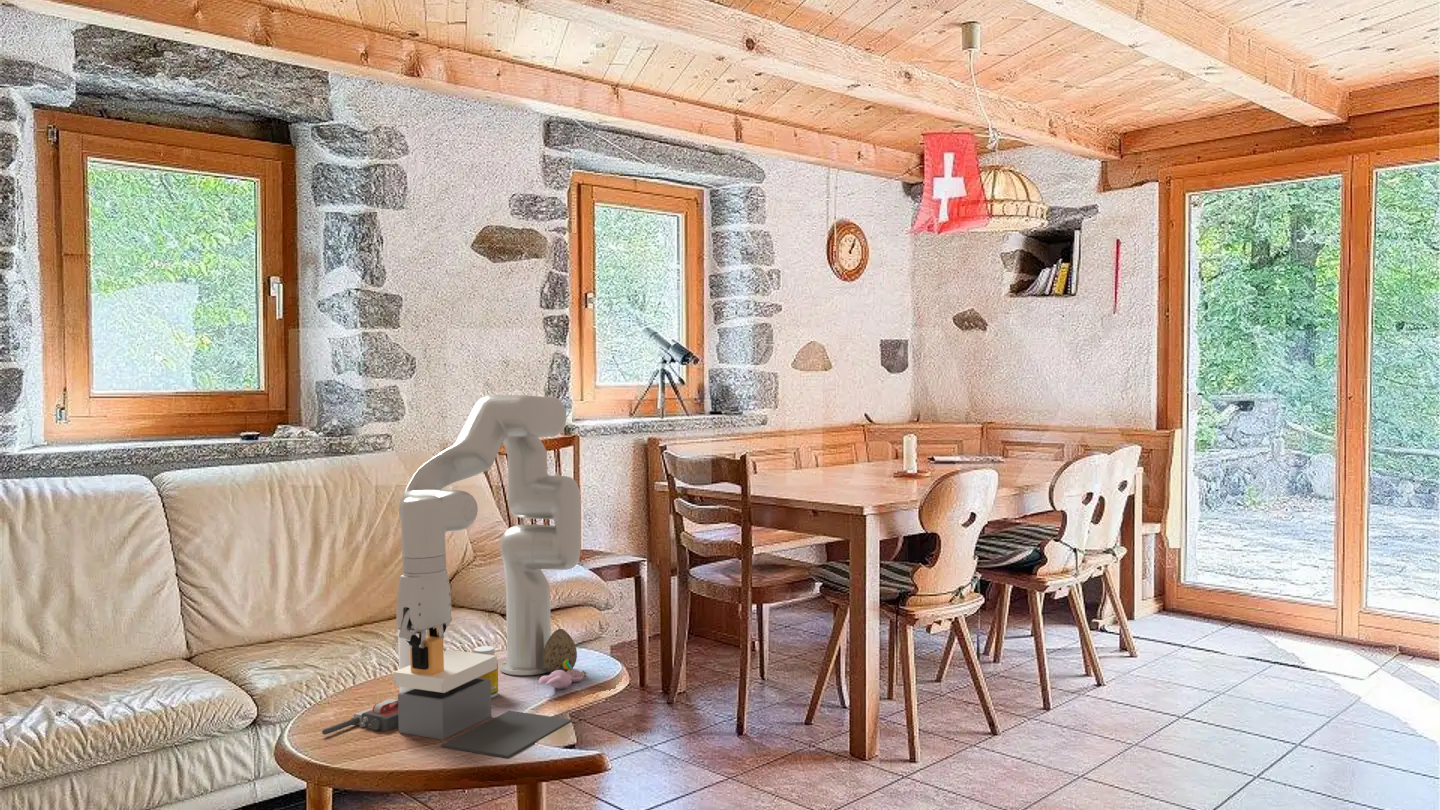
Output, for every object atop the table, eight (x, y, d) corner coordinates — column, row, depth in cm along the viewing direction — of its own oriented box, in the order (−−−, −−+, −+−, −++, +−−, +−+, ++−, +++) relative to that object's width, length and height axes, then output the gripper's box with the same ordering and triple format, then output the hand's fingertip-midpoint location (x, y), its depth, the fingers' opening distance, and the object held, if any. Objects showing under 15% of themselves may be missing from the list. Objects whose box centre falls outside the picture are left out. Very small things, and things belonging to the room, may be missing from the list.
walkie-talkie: (402, 707, 205) (318, 739, 188) (402, 685, 205) (318, 714, 188) (435, 714, 201) (353, 747, 183) (435, 691, 201) (352, 722, 183)
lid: (448, 662, 203) (447, 619, 203) (496, 668, 199) (495, 624, 198) (393, 685, 189) (392, 639, 189) (444, 692, 185) (442, 645, 184)
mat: (509, 712, 200) (509, 710, 200) (572, 721, 194) (572, 719, 194) (441, 746, 182) (441, 744, 182) (507, 758, 176) (507, 755, 176)
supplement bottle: (466, 695, 211) (465, 648, 211) (490, 690, 215) (489, 643, 214) (478, 701, 207) (477, 653, 207) (503, 696, 210) (502, 648, 210)
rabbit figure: (567, 683, 224) (528, 691, 210) (569, 655, 224) (530, 661, 211) (593, 686, 221) (555, 695, 207) (595, 657, 222) (557, 664, 208)
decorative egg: (541, 671, 227) (541, 625, 227) (573, 668, 229) (574, 623, 229) (545, 681, 220) (545, 634, 220) (579, 678, 222) (579, 632, 222)
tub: (448, 709, 202) (448, 673, 202) (491, 716, 198) (490, 679, 198) (398, 732, 189) (397, 694, 189) (443, 739, 185) (442, 700, 185)
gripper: (437, 555, 197) (440, 651, 198) (375, 572, 182) (379, 676, 183) (469, 557, 194) (472, 655, 195) (409, 575, 179) (413, 681, 180)
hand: (427, 664), depth 189 cm, fingers closed on lid, 3 cm apart
